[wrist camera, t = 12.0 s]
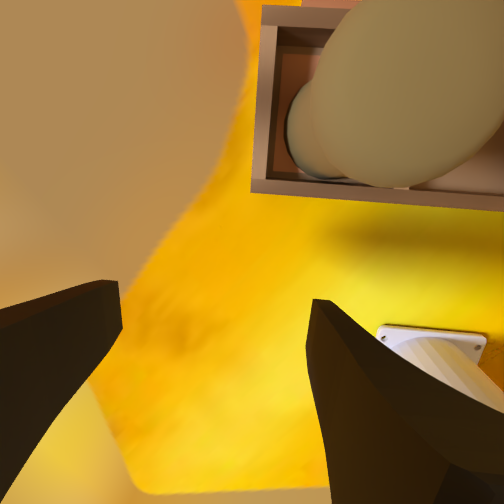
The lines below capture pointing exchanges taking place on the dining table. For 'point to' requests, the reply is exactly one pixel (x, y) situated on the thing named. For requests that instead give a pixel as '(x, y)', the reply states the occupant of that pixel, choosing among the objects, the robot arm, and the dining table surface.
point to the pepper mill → (401, 92)
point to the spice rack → (301, 72)
